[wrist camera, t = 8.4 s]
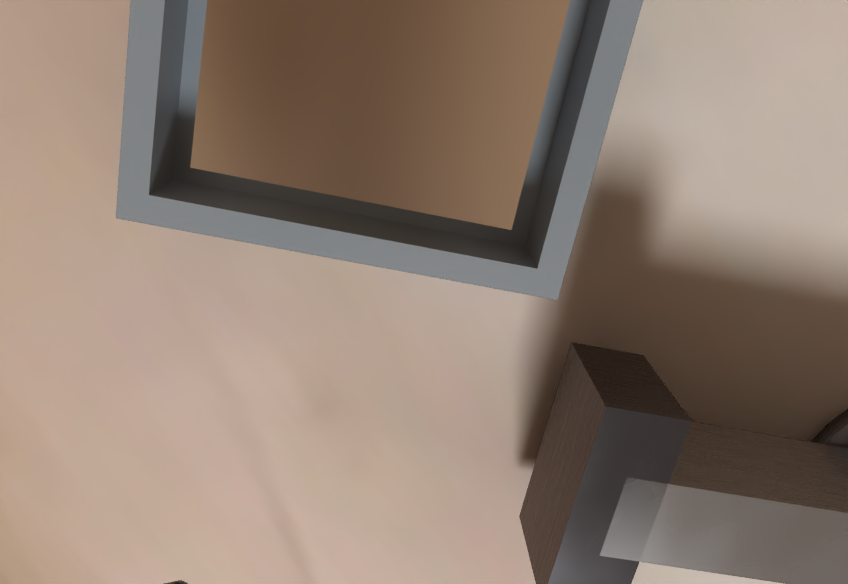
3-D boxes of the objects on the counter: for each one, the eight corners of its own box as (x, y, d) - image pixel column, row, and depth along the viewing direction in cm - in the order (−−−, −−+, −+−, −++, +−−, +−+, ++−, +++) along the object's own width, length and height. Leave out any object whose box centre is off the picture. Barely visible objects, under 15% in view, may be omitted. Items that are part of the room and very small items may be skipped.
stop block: (536, -77, 15) (601, -122, 10) (478, 169, 16) (511, 230, 12) (284, -137, 14) (228, -215, 9) (251, 124, 16) (190, 167, 11)
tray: (656, -163, 15) (697, -192, 13) (539, 267, 18) (557, 300, 16) (190, -282, 14) (153, -334, 12) (149, 194, 17) (115, 218, 15)
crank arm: (1014, 422, 19) (1128, 496, 16) (930, 579, 20) (1018, 672, 17) (571, 342, 18) (605, 406, 15) (519, 515, 19) (541, 604, 16)
